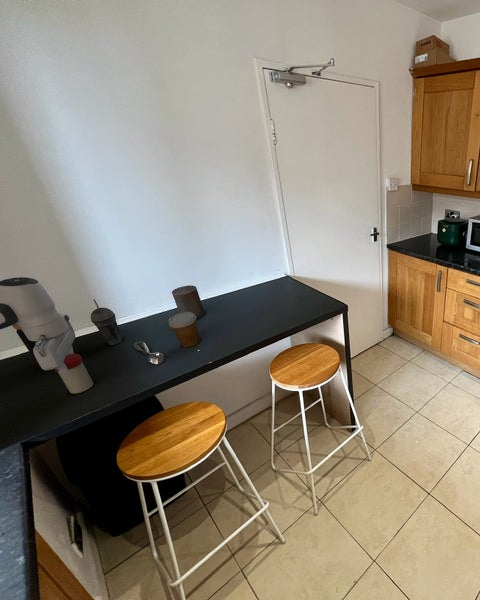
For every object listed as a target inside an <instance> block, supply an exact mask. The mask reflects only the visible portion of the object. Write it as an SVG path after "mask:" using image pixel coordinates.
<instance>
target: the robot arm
mask: <svg viewBox="0 0 480 600" xmlns="http://www.w3.org/2000/svg"><path fill="white" fill-rule="evenodd" d="M55 303H56V302H55V301H54V299H53V297H52V295H51V294H50V292H49V291H48V289H47V288H46V287H45V286H44V285H43V284H42V282H40V281H39V280H38V279H35V278H33V277H28V276H27V277H24V276H21V277H20V276H19V277H12V278H11V277H10V278H5V279H2V280H0V330H4V329H7V328H9V327H13V326H12V325H14V324H17V325H19V326H20V328H21V329H22V331H23V332H24V334H25V335H26V337H27V338H28V340H30V341H36V343H35V347H34V349H33V352H34V355H35V357H36V359H37V361H38V363H39V365H40V366H41V367H40V366H39V365H38V366H39V367H40V368H41V369H42V370H44V371H45V372H47V371H51V370H54V369H55V368H57V369H58V370H59V371H60V373H66V372H68V371H69V367H68V365H65V364H64V359H65V357H66V356H67V355H71V354H74V352H73V347H72V343H73V344H74V341H75V339H76V332H75V330H74V328H73V325H72V323H71V322H70V320H71V319H70V316H69V314H68V313H63V314H62V313H61V311H59V310H58V309H57V308H56V304H55Z"/></svg>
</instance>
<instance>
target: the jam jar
mask: <svg viewBox="0 0 480 600" xmlns="http://www.w3.org/2000/svg"><path fill="white" fill-rule="evenodd" d="M56 372H57V374H58V375H59V377H60V379H61V381H62V382H63V384H64V386H65V387H66V389H67V390H68V392H69V393H70V394H74V395H75V394H80V393H82V392H85V391H88V390H89V389H91V388H92V387H93V386H94V384H95V383H94V381H93V379H92V377H91V375H90V374H89V372H88V370H87V367H86V366H85V364H84V362H83V361H82V363H81V364H79V365H78V366H76V367H74V368H72V369H69V371H68V372H66V373H60V371H56Z"/></svg>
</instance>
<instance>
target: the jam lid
mask: <svg viewBox="0 0 480 600" xmlns="http://www.w3.org/2000/svg"><path fill="white" fill-rule="evenodd" d="M83 361H84V360H83V357H82V356H81V354H80V353H77V354H71V355H67V356H66V357H65V359H64V364H65V365H68V367H69V369H72V368H74V367H76V366H78V365H79V364H81V363H82V362H83ZM53 370H54V371H55V372H57V371H59V370H58V369H57V368H55V369H53Z"/></svg>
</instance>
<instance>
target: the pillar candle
mask: <svg viewBox="0 0 480 600" xmlns="http://www.w3.org/2000/svg"><path fill="white" fill-rule="evenodd" d="M171 294H172V298H173V300H174V303H175V305H176V308H177V310H178V314H179V313H184V312H191V313H194V315H196V317H197V318H196V320H198V319H200V318H202V317H204V316H205V314H206V312H205V310H204V306H203V302H202V300H201V297H200V293H199V291H198V288H197V287H196V286H195V285H192V284H191V285H183V286H182V285H181V286H179V287H177V288H174V289H173V290H172V291H171Z"/></svg>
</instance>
